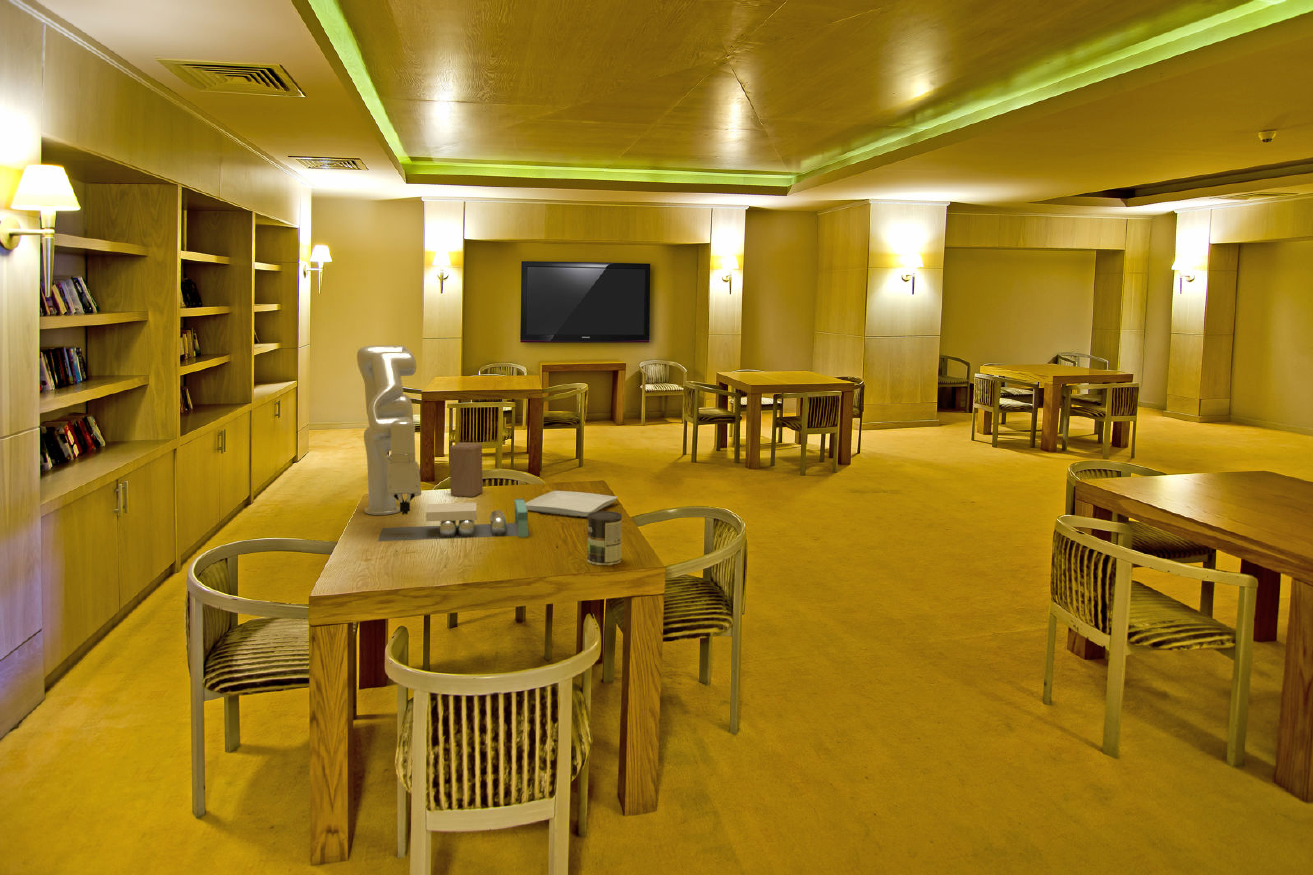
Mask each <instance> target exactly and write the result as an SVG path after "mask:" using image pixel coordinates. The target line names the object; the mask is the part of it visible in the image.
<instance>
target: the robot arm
mask: <svg viewBox="0 0 1313 875" xmlns="http://www.w3.org/2000/svg"><path fill="white" fill-rule="evenodd" d="M356 361H357V367H358V369H359V372H360V374H361V377H362V379H363V384H364V392H365V393H364V394H365V395H364V396H365V407H366V409H365V410H366V415H367V420H368V426H367V428H366V429H365V430H364V432H363V440H364V441H363V442H364V447H365V451H366V461H367V485H368V486H367V488H368V493H367V494H368V506H367V507H365V508H364V513H366V514H367V515H373V516H385V515H393V514H397V513H400V512H401V514H402V515H408V514H409V512H411V507H410V506H411V501H412V500H413V499H414V498H416V497H419V496H421V495H422V490H421V476H420V468H419V464H418V461H416V440H415V439H416V438H415V435H416V434H415V432H416V425H415V422H414V410H413V408H414V407H413V403H412V399H411V398H410V397H409V396H408V395H407V394H404V387H403V383H402V377H405V376H406V377H408V376H413V375H415V374H416V371H417V361H416V358H415V356H414V354H413V352H412V351H411V350H410V349H409V348H408V347H407V346H406V345H395V344H393V345H392V344H391V345H390V344H389V345H386V344H385V345H378V344H377V345H366V346H365V345H364V346H362V347H360V348H359V349H358V351H357V353H356ZM388 452H390V454H388ZM403 495H406V499H405V500H404V496H403ZM397 501H398V502H399V505H397Z"/></svg>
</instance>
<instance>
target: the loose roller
mask: <svg viewBox="0 0 1313 875" xmlns="http://www.w3.org/2000/svg"><path fill="white" fill-rule="evenodd" d="M489 520H490V524H491V529H492V532H493V534H495V535H496V536H499V537H503V536H502V535H504V534H505V533H506V531H507V525H506V523H507V521H506V515H505V512H503V511H502V510H500V509H495V510H493V511H492V512H491V513H490V516H489Z"/></svg>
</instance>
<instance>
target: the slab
mask: <svg viewBox="0 0 1313 875" xmlns="http://www.w3.org/2000/svg"><path fill="white" fill-rule="evenodd" d="M477 514H478V512H477V502H459V503H458V502H457V503H456V502H455V503H449V502H448V503H427V505H426V511H425V517H426V518H425V522H441V521H454V520H456V521H459V520H474V521H475V520H477V519H478V518H477V517H478V516H477Z"/></svg>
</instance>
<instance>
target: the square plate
mask: <svg viewBox="0 0 1313 875" xmlns="http://www.w3.org/2000/svg"><path fill="white" fill-rule="evenodd" d="M618 498H619V497H618V496H615V495H614V496H613V495H608V494H607V495H606V494H601V493H600V494H598V493H591V492H583V491H582V492H580V491H568V490H567V491H565V490H552V491H550V492H547V493H545V494H541V495H540V496H537V497H535V498H533V499H531V500H528V501H526V502H525V505H526V509H527V511H531V512H532V511H533V512H538V513H541V514H548V513H551V514H550V515H558V514H560V515H561V516H567V515H569V516H570V517H577V516H580V517H583V518H585V517H587V515H588V514H589V513H592V512H598V511H601V510H602V509H604V508H606V507H608V506H610V505H612V504H613V503H614V502H615V501H616V500H618ZM569 516H568V517H569Z"/></svg>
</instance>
